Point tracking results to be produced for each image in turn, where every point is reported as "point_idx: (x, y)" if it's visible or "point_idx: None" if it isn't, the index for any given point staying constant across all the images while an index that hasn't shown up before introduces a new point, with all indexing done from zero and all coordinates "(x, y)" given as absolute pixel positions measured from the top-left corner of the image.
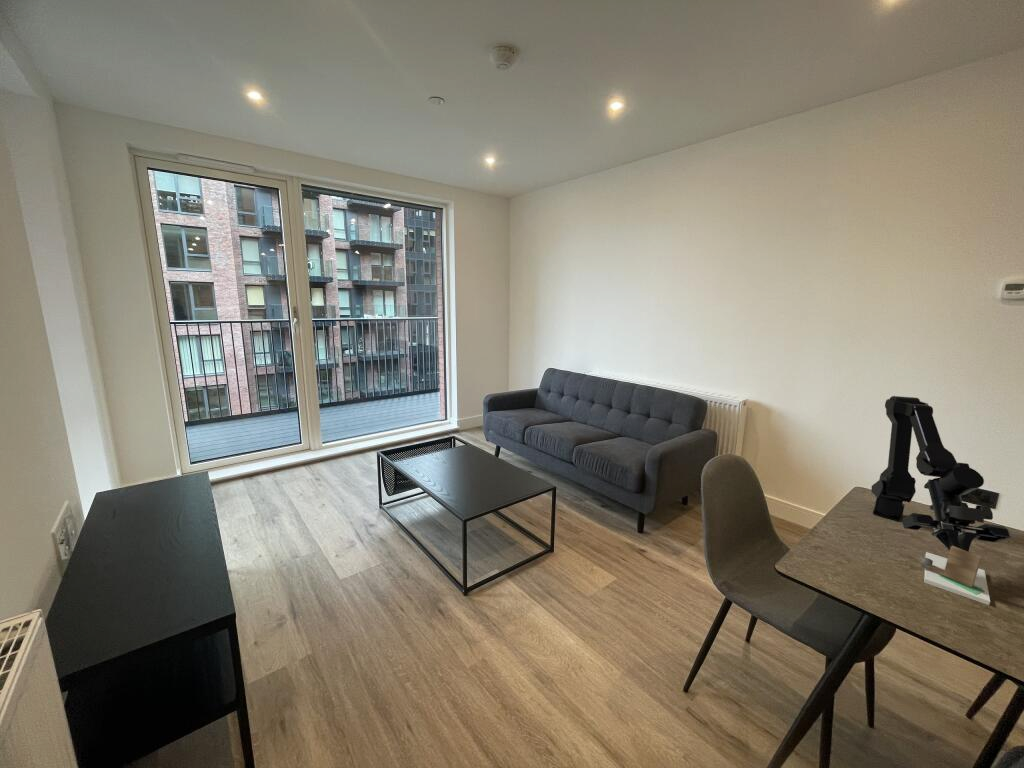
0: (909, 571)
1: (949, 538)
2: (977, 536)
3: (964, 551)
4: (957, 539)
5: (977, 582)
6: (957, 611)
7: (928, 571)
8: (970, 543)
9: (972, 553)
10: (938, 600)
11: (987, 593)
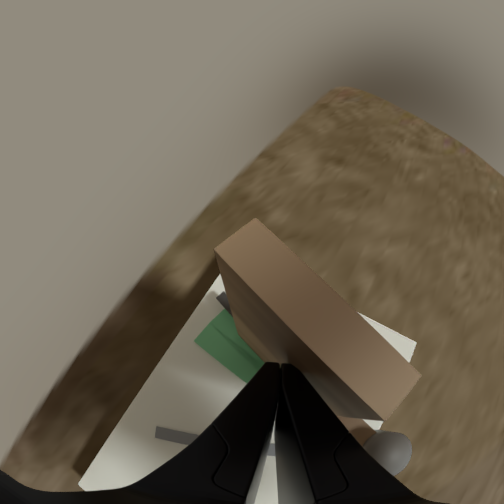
0: (419, 424)
1: (410, 497)
2: (24, 491)
3: (330, 315)
4: (330, 500)
5: (180, 389)
6: (367, 204)
7: (370, 423)
8: (165, 467)
9: (263, 298)
10: (400, 245)
11: (202, 305)
